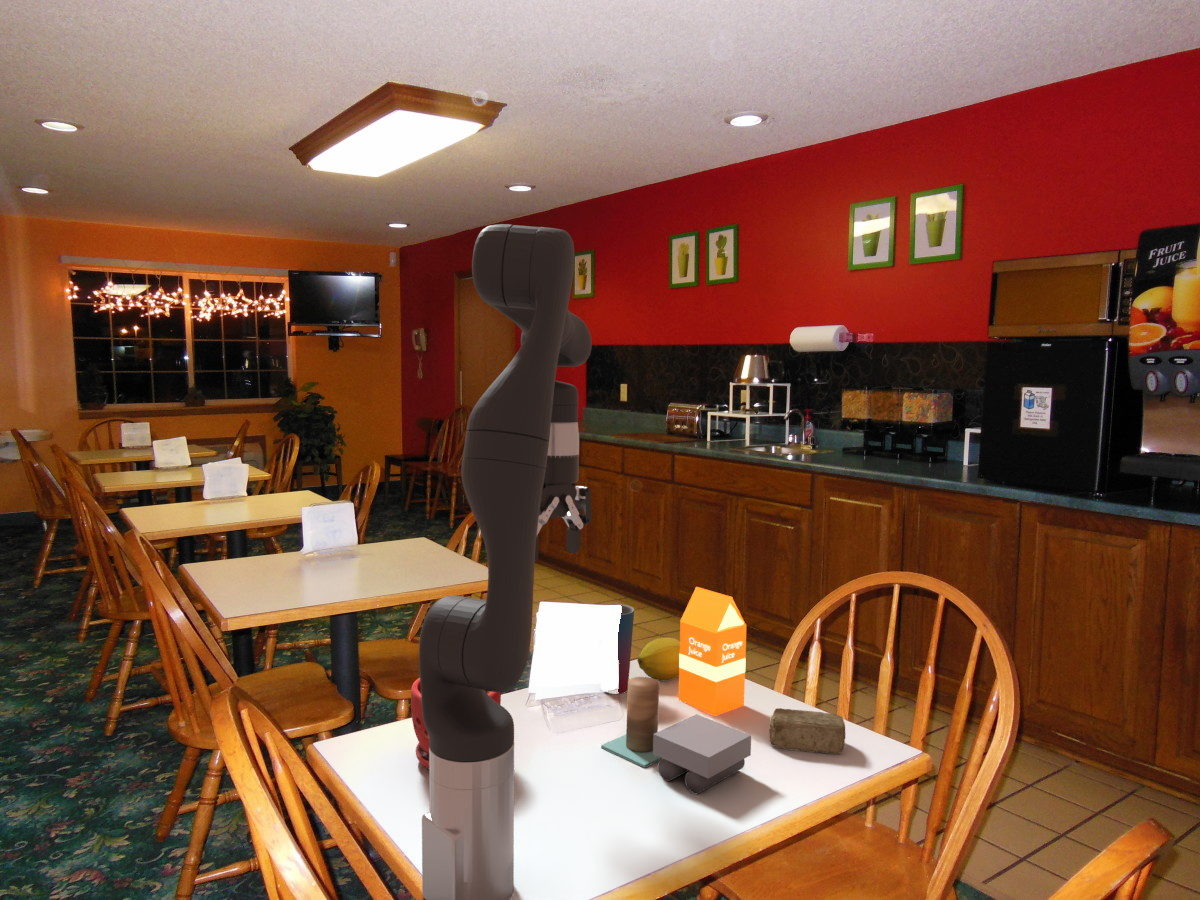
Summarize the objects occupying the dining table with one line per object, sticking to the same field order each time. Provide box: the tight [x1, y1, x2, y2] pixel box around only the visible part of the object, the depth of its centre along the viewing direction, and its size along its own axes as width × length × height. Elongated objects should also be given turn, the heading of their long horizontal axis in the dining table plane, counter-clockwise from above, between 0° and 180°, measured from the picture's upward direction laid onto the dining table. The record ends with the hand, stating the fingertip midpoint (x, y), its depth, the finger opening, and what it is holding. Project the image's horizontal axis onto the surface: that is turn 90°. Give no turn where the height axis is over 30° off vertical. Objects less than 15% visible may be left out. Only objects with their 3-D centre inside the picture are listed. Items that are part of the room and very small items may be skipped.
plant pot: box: [410, 677, 502, 769], centre depth 123 cm, size 13×13×12 cm
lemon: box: [637, 637, 680, 682], centre depth 156 cm, size 11×8×8 cm
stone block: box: [768, 707, 847, 755], centre depth 130 cm, size 6×12×5 cm, turn 78°
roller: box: [625, 676, 660, 752], centre depth 127 cm, size 5×5×10 cm
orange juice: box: [678, 586, 747, 717], centre depth 145 cm, size 8×9×20 cm
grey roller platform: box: [653, 713, 752, 794], centre depth 119 cm, size 10×10×6 cm
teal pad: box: [600, 734, 663, 769], centre depth 128 cm, size 9×9×1 cm
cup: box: [606, 603, 635, 695], centre depth 151 cm, size 7×7×15 cm
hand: (552, 556), depth 128 cm, fingers open, 8 cm apart
